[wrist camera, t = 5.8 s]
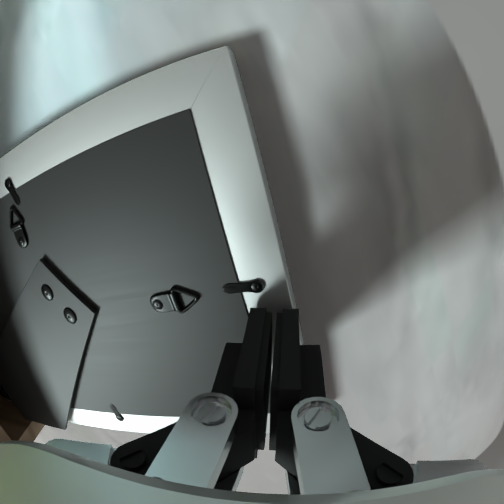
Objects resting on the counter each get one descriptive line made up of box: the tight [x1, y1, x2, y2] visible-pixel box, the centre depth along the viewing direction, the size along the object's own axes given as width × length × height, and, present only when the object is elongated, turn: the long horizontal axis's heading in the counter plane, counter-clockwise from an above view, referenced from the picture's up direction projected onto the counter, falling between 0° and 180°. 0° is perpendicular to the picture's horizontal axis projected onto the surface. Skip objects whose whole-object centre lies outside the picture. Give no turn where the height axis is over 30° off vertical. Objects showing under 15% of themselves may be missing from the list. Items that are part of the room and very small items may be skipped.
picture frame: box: [0, 45, 304, 434], centre depth 13 cm, size 16×3×21 cm
